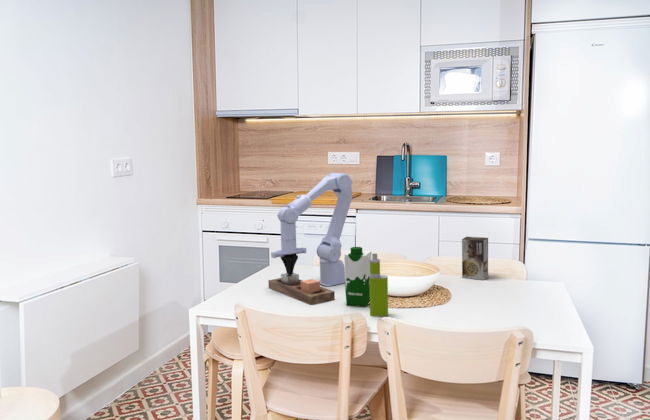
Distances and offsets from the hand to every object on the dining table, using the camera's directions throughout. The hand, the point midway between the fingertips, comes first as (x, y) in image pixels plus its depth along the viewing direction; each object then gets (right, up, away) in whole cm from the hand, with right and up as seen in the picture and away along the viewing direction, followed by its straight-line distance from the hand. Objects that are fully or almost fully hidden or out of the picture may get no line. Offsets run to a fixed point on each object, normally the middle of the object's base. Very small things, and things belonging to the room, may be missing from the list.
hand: (289, 273), depth 215 cm
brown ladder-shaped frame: (+4, -7, -5) cm, 9 cm away
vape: (+31, -10, -32) cm, 46 cm away
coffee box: (+74, -3, +12) cm, 75 cm away
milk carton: (+25, -8, -19) cm, 33 cm away
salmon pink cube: (+8, -5, -11) cm, 14 cm away
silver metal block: (0, -4, 0) cm, 4 cm away
